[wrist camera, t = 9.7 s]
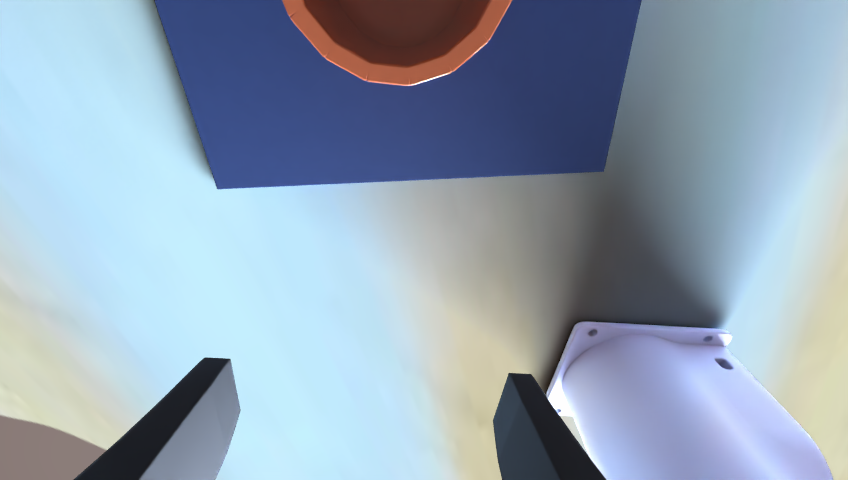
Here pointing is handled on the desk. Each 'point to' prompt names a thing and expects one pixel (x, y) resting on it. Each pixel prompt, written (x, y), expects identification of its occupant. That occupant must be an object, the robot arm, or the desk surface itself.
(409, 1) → the cup
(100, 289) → the desk surface
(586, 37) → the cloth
